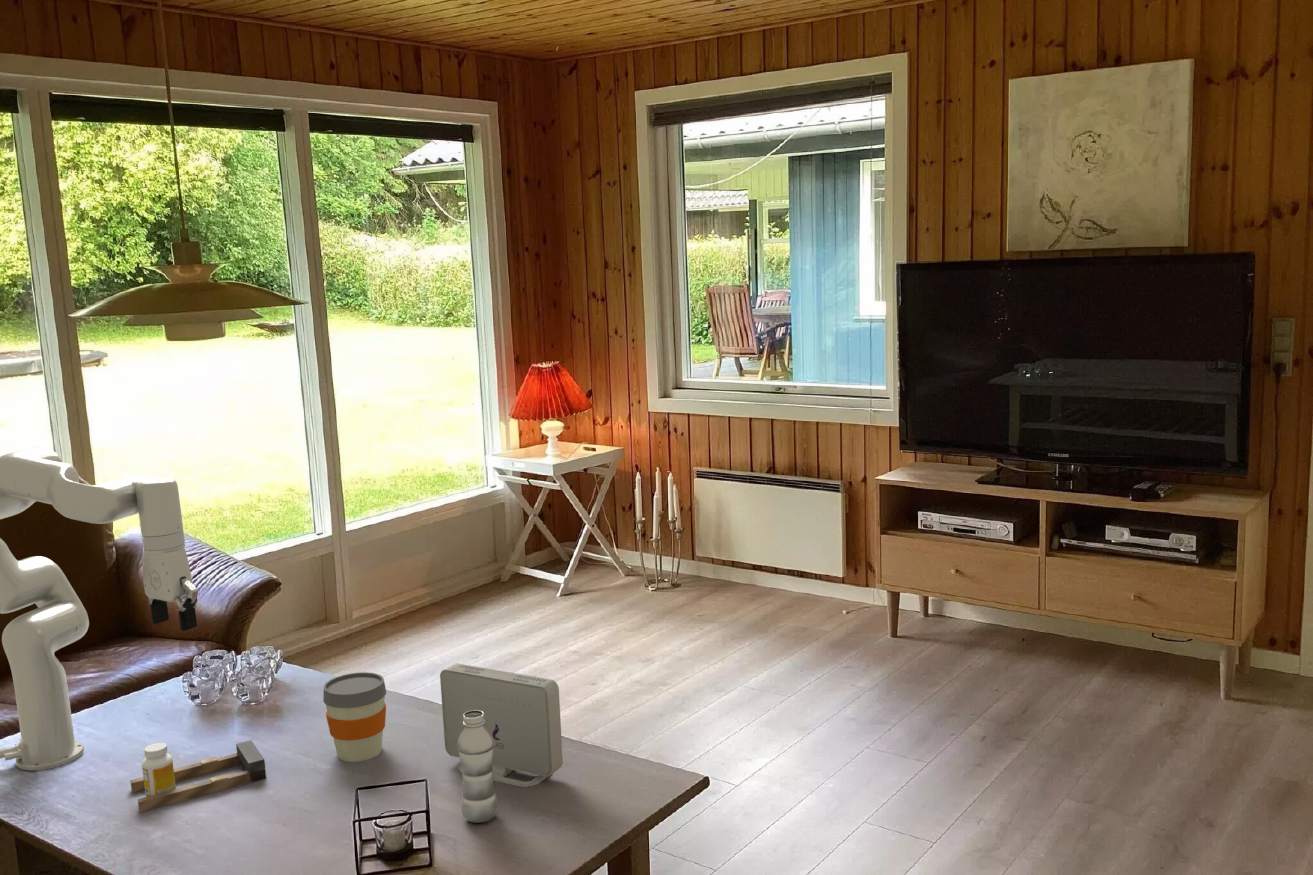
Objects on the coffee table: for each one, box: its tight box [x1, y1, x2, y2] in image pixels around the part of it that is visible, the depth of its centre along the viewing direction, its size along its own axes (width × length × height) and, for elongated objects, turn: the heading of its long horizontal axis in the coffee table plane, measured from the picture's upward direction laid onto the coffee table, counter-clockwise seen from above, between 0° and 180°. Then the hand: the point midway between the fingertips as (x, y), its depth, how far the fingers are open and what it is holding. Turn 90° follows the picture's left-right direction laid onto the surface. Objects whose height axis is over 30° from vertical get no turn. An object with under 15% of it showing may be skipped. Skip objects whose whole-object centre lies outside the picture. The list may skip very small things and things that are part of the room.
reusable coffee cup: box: [322, 671, 387, 763], centre depth 231 cm, size 13×13×15 cm
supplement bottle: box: [141, 742, 177, 797], centre depth 215 cm, size 5×5×10 cm
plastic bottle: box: [457, 710, 499, 824], centre depth 201 cm, size 6×7×20 cm
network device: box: [439, 663, 564, 788], centre depth 219 cm, size 26×9×20 cm, turn 62°
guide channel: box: [130, 739, 267, 813], centre depth 220 cm, size 23×11×4 cm, turn 122°
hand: (174, 625), depth 221 cm, fingers open, 9 cm apart
